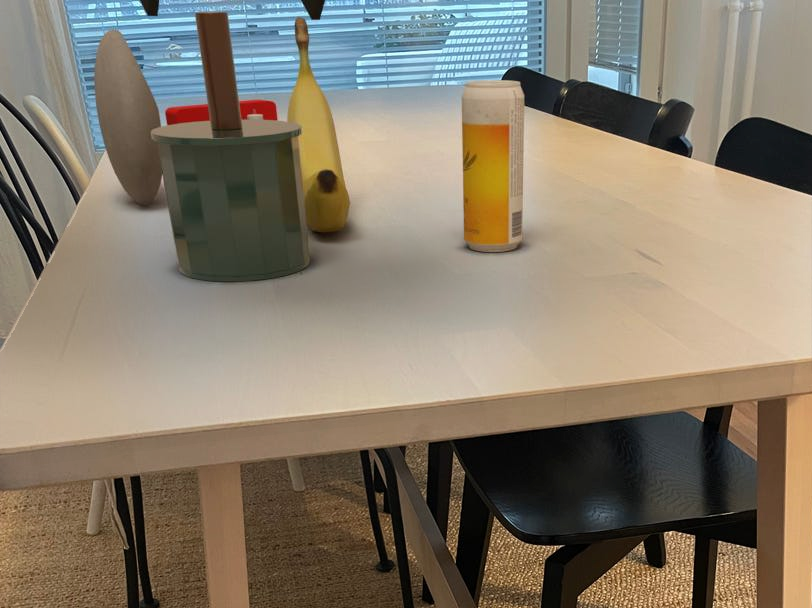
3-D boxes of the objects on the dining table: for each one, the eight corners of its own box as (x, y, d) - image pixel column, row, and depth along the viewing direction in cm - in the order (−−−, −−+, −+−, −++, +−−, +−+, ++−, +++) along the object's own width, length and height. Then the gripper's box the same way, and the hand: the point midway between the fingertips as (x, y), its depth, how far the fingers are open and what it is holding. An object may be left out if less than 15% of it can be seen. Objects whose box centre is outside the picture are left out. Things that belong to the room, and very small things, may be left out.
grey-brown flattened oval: (181, 214, 119) (151, 32, 108) (120, 219, 117) (84, 33, 106) (165, 189, 133) (137, 26, 123) (110, 193, 131) (77, 27, 120)
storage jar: (160, 280, 92) (135, 145, 86) (202, 250, 103) (182, 127, 96) (292, 282, 91) (277, 145, 85) (321, 251, 102) (309, 126, 95)
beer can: (479, 238, 106) (478, 79, 98) (531, 243, 104) (534, 80, 96) (454, 250, 102) (450, 84, 93) (507, 255, 99) (508, 86, 91)
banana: (361, 245, 104) (345, 22, 93) (305, 248, 103) (282, 23, 92) (340, 206, 122) (324, 16, 111) (293, 208, 121) (272, 16, 110)
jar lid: (186, 158, 83) (163, 15, 77) (131, 141, 92) (107, 12, 87) (329, 144, 90) (317, 11, 84) (264, 129, 99) (250, 9, 93)
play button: (189, 195, 129) (175, 109, 124) (178, 192, 131) (164, 107, 125) (284, 181, 138) (275, 100, 132) (273, 179, 139) (263, 99, 134)
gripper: (109, -317, 52) (87, 40, 70) (488, -243, 64) (387, 43, 82) (57, -414, 53) (49, -40, 71) (438, -323, 66) (350, -25, 84)
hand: (230, 5), depth 77 cm, fingers open, 13 cm apart
